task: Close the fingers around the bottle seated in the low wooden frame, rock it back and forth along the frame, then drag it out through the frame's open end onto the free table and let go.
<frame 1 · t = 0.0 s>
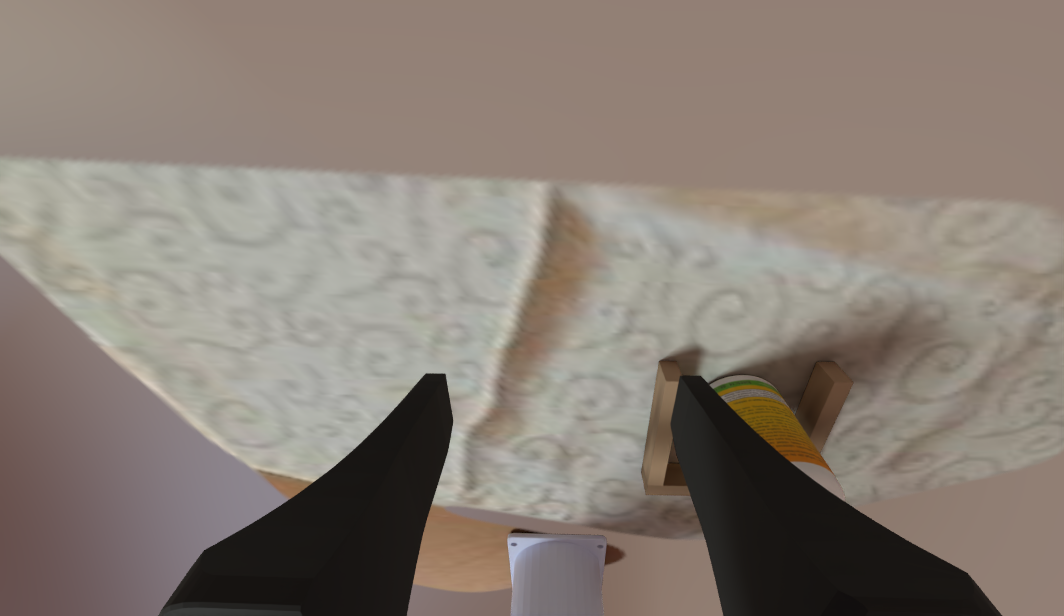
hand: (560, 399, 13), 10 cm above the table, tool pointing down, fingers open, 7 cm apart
supplement bottle: (731, 403, 26), on the table
wooden frame: (729, 417, 27), on the table
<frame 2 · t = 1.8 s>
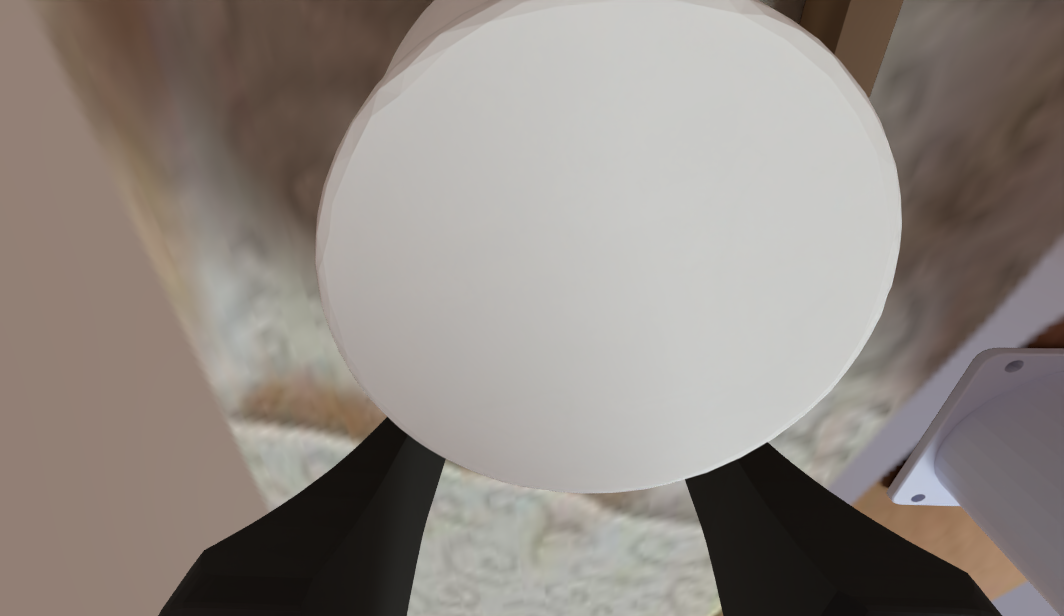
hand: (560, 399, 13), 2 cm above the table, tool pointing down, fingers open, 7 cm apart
supplement bottle: (563, 125, 11), on the table
wooden frame: (601, 126, 11), on the table
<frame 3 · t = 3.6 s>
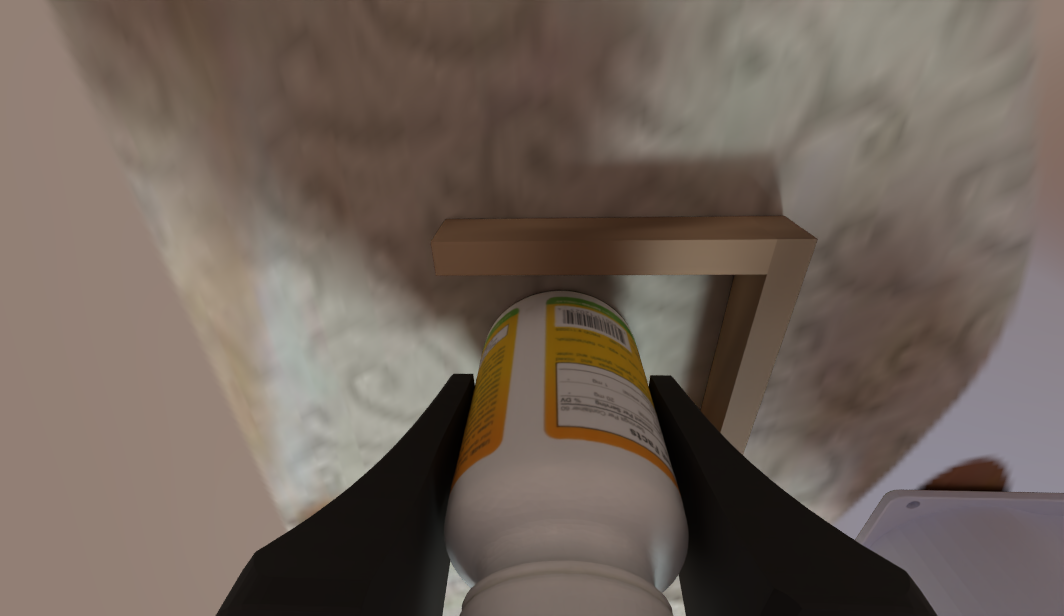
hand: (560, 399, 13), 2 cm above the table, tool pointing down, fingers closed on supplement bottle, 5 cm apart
supplement bottle: (559, 348, 15), on the table, touching gripper
wooden frame: (587, 352, 15), on the table
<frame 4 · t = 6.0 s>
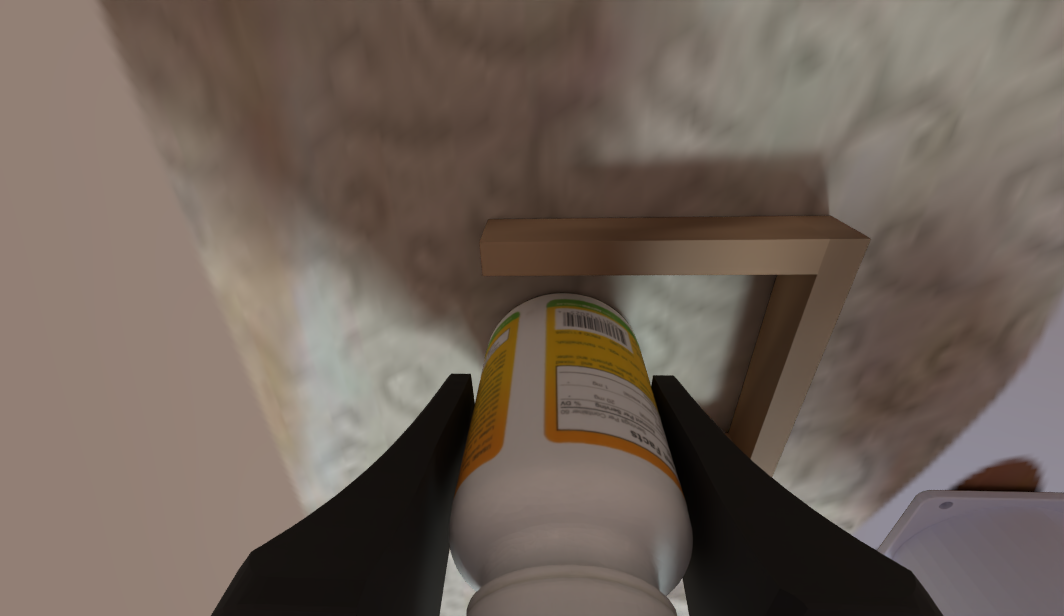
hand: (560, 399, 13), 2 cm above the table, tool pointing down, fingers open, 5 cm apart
supplement bottle: (562, 350, 15), on the table, touching gripper
wooden frame: (624, 352, 15), on the table
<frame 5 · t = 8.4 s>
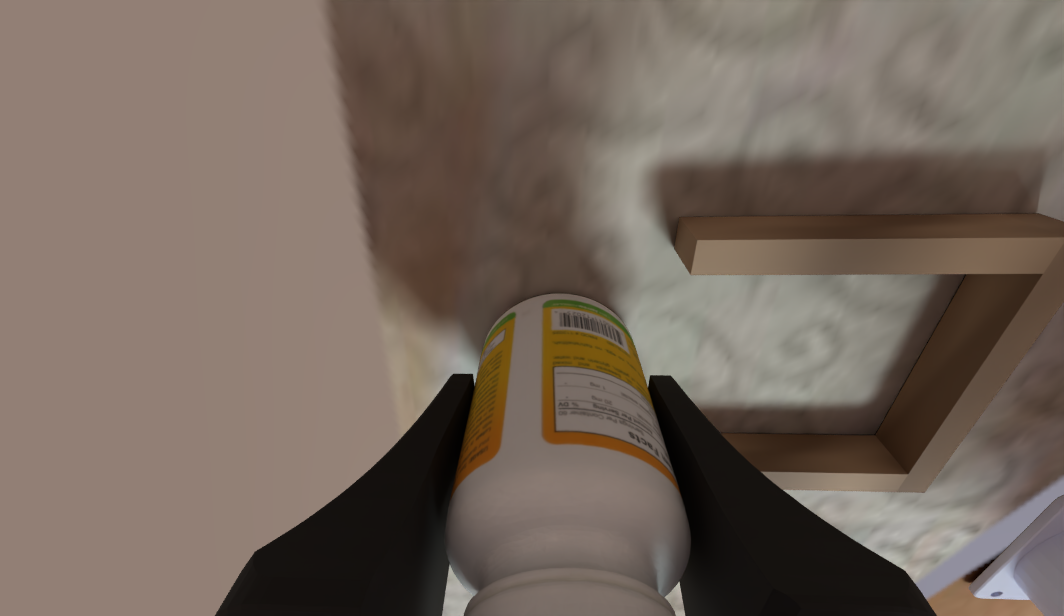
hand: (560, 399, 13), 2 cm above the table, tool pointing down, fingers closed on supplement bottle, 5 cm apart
supplement bottle: (558, 351, 15), on the table, touching gripper
wooden frame: (787, 353, 15), on the table
when the fingers open (2 cm above the table, at t = 8.5 s): supplement bottle stays where it is, on the table.
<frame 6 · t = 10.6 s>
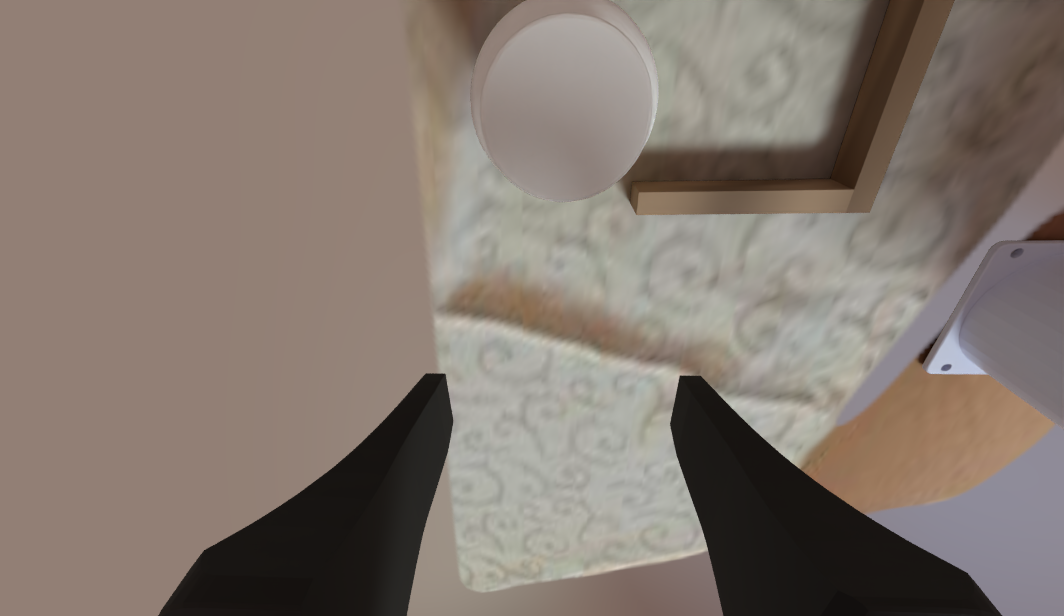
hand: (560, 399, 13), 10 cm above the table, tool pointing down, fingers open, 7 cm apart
supplement bottle: (559, 88, 18), on the table
wooden frame: (751, 82, 17), on the table
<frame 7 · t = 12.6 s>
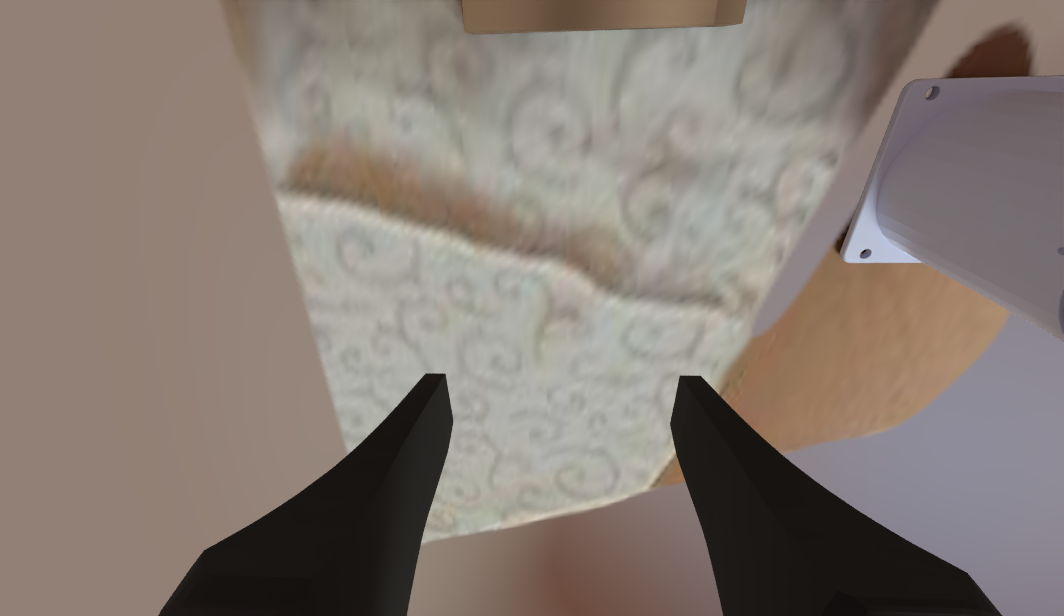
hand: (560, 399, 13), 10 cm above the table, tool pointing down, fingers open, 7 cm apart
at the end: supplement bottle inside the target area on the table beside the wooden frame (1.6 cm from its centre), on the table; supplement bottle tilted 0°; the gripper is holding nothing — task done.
